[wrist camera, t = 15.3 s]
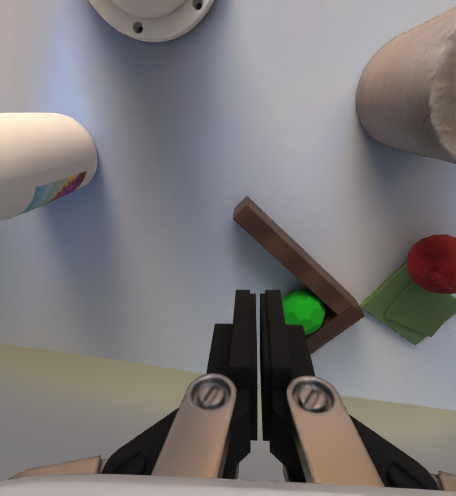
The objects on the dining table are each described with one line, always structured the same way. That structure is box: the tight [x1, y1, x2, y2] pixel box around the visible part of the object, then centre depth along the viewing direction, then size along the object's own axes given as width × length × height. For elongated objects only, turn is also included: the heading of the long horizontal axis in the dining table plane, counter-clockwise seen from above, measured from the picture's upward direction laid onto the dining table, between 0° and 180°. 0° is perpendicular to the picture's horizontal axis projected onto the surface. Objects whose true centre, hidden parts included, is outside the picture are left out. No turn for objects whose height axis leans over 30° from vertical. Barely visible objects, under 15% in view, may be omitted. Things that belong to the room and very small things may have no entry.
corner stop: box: [233, 196, 364, 355], centre depth 36 cm, size 18×13×4 cm
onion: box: [406, 235, 456, 294], centre depth 31 cm, size 6×6×8 cm
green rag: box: [360, 262, 456, 345], centre depth 37 cm, size 9×7×1 cm
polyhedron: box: [282, 290, 325, 335], centre depth 36 cm, size 5×5×5 cm
